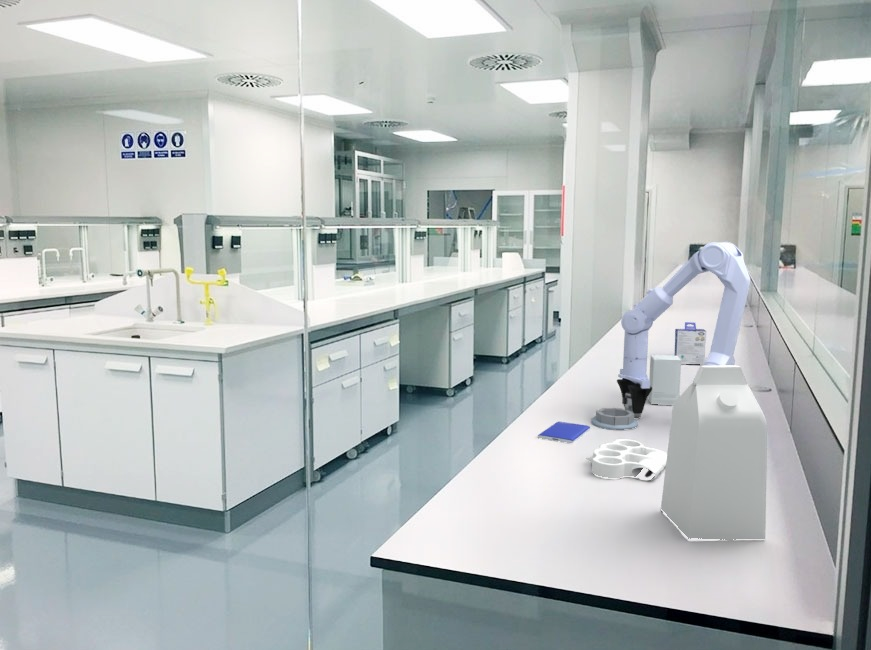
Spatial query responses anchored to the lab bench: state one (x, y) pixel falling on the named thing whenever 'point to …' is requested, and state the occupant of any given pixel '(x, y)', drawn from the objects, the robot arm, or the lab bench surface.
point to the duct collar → (614, 419)
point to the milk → (717, 458)
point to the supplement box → (664, 379)
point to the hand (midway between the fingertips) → (632, 410)
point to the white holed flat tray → (626, 459)
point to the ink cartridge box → (690, 344)
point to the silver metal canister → (629, 404)
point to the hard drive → (564, 432)
